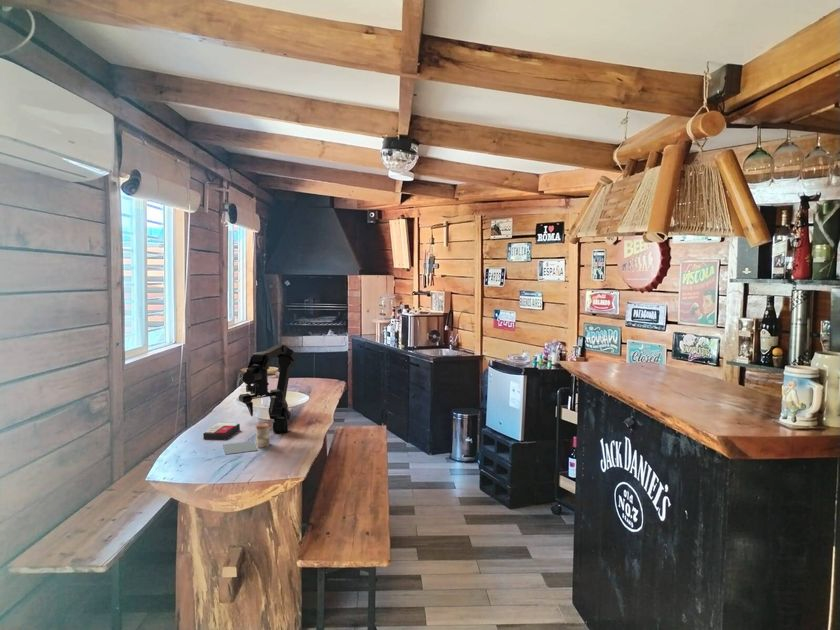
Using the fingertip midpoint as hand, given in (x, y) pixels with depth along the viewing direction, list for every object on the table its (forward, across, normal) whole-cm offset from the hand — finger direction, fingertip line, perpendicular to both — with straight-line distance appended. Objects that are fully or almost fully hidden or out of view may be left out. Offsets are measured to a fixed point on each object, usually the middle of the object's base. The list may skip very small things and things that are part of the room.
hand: (261, 414), depth 239 cm
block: (+13, +2, +4) cm, 13 cm away
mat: (+12, +11, +2) cm, 17 cm away
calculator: (+13, +11, -23) cm, 28 cm away
